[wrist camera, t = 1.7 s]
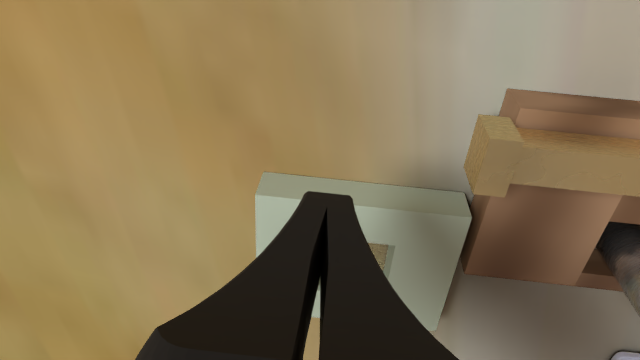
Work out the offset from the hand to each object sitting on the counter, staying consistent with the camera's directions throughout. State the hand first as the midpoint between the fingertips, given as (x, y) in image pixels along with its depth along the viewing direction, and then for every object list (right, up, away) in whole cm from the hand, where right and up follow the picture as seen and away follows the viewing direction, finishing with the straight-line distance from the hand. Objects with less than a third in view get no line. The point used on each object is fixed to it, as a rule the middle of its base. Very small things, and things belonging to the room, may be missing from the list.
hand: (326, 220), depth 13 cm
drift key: (+9, +2, +5) cm, 11 cm away
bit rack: (+2, -2, +11) cm, 12 cm away
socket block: (+12, +1, +8) cm, 15 cm away
